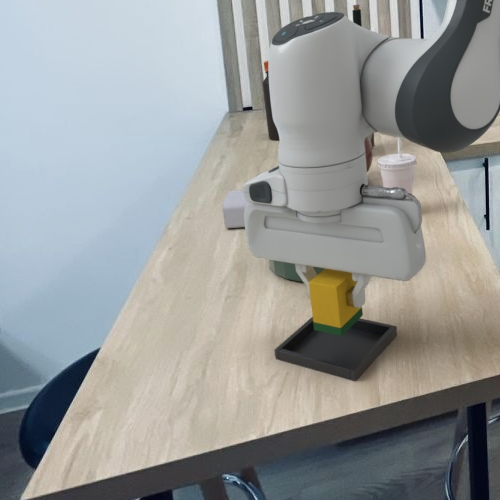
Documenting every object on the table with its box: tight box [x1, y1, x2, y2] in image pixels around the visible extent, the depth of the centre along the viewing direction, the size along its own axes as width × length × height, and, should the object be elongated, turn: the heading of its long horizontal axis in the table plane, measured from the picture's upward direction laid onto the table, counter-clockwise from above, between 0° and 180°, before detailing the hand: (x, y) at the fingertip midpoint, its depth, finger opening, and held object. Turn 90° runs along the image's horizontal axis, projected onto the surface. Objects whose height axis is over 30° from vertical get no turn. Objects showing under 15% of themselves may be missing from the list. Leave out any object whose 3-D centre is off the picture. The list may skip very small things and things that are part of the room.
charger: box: [222, 189, 249, 229], centre depth 118 cm, size 5×9×15 cm
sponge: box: [309, 269, 364, 336], centre depth 73 cm, size 4×5×6 cm
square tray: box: [273, 316, 398, 382], centre depth 75 cm, size 10×10×2 cm
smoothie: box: [377, 138, 418, 199], centre depth 110 cm, size 6×6×14 cm
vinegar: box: [262, 60, 279, 141], centre depth 172 cm, size 7×7×20 cm
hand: (336, 301), depth 73 cm, fingers closed on sponge, 3 cm apart
